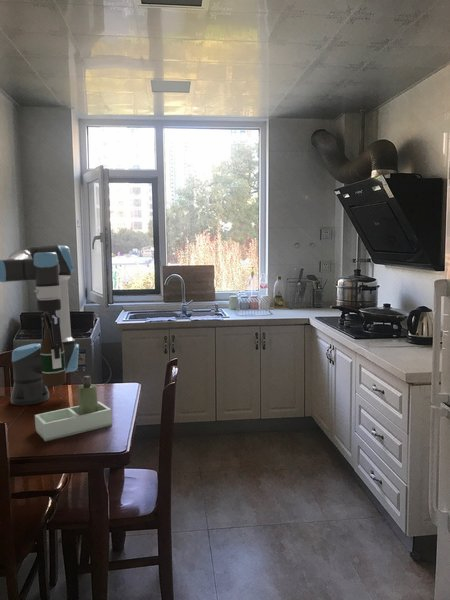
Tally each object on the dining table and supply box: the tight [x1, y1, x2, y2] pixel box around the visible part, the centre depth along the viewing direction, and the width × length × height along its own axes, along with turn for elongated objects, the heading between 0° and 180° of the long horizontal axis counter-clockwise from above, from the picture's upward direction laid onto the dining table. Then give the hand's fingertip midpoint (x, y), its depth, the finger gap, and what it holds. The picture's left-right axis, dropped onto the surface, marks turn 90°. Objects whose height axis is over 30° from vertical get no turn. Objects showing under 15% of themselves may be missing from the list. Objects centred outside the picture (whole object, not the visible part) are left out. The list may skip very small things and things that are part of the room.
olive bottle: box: [77, 375, 99, 415], centre depth 175 cm, size 6×6×17 cm
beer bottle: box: [40, 314, 67, 388], centre depth 166 cm, size 8×8×24 cm
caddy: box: [34, 401, 113, 442], centre depth 172 cm, size 12×23×6 cm, turn 125°
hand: (53, 365), depth 167 cm, fingers closed on beer bottle, 8 cm apart
